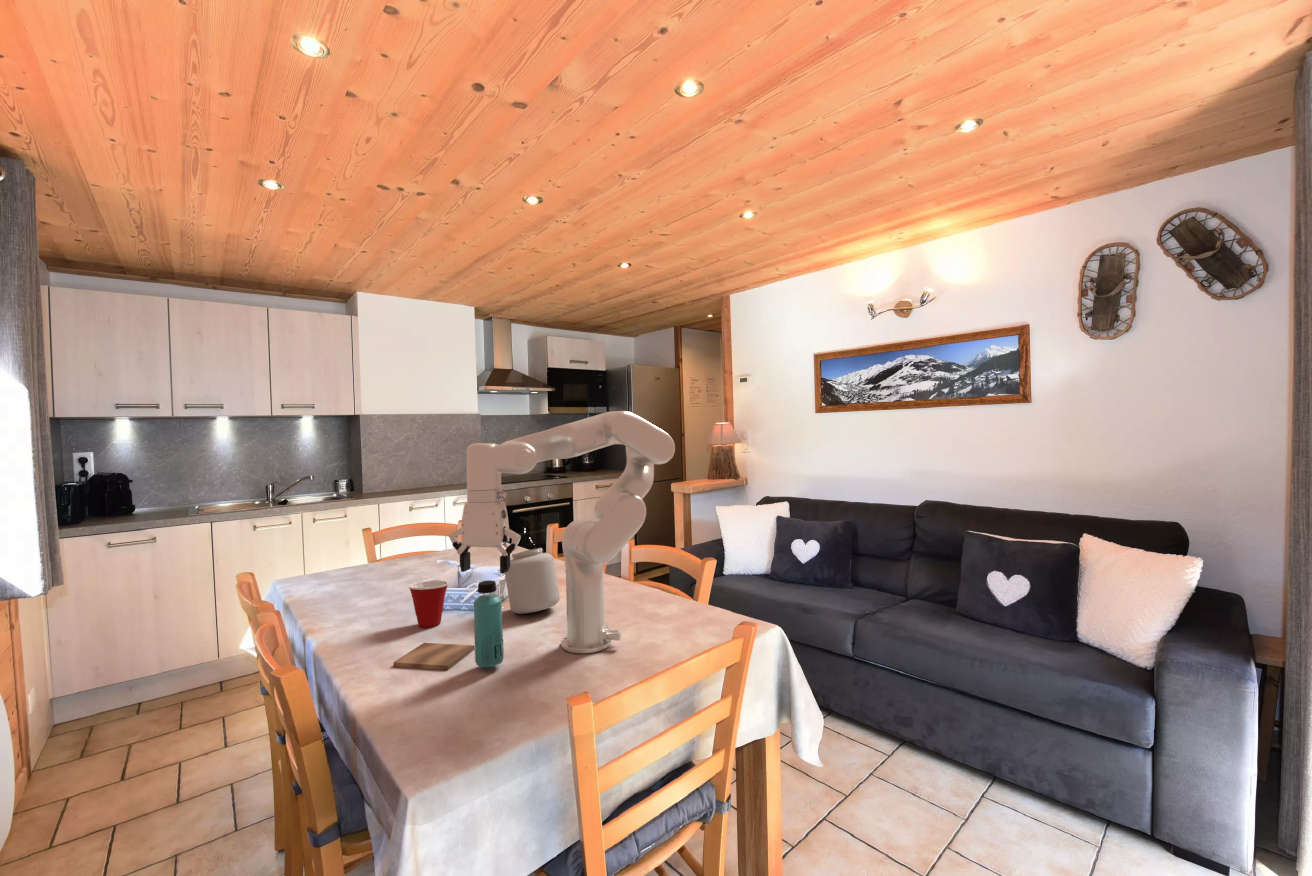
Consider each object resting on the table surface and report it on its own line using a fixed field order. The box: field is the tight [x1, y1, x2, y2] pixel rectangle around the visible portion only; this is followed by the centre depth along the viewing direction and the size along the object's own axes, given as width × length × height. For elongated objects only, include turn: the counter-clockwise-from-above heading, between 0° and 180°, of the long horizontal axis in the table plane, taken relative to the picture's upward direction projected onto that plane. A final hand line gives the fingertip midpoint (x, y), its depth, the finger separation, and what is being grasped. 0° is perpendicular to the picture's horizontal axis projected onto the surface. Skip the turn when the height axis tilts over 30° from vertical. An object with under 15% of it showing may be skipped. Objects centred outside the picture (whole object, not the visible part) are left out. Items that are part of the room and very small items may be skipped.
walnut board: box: [393, 642, 475, 671], centre depth 135 cm, size 14×12×1 cm
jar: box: [501, 527, 561, 615], centre depth 169 cm, size 19×15×25 cm
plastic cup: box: [407, 580, 450, 629], centre depth 159 cm, size 11×11×12 cm
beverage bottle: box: [473, 579, 505, 668], centre depth 129 cm, size 6×7×20 cm
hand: (485, 571), depth 128 cm, fingers open, 9 cm apart
